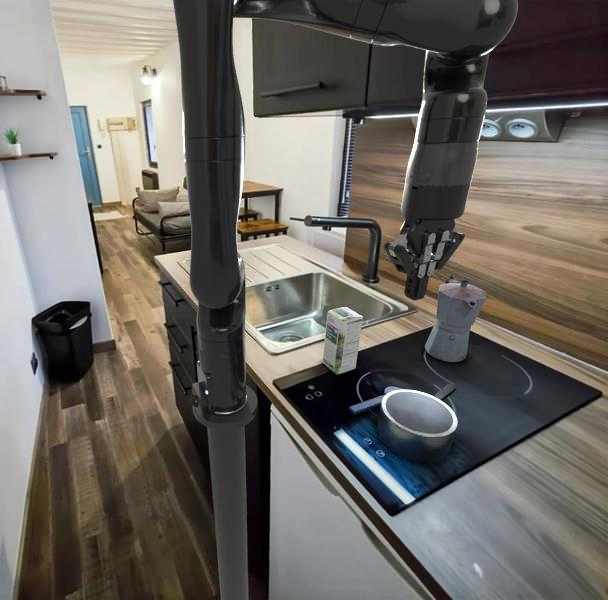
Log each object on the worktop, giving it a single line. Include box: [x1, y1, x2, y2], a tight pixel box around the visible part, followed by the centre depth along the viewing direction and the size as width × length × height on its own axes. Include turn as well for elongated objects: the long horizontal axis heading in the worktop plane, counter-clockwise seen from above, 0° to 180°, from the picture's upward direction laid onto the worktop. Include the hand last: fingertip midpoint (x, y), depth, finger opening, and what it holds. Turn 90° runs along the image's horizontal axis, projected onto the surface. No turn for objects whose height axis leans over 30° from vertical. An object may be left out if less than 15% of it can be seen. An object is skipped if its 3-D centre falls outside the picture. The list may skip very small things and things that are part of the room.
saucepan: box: [376, 383, 459, 463], centre depth 68 cm, size 19×12×6 cm, turn 124°
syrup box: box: [322, 306, 364, 375], centre depth 85 cm, size 6×6×14 cm
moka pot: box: [424, 275, 487, 363], centre depth 87 cm, size 10×15×20 cm, turn 172°
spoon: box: [348, 386, 404, 415], centre depth 76 cm, size 14×4×1 cm, turn 110°
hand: (413, 297), depth 55 cm, fingers closed
